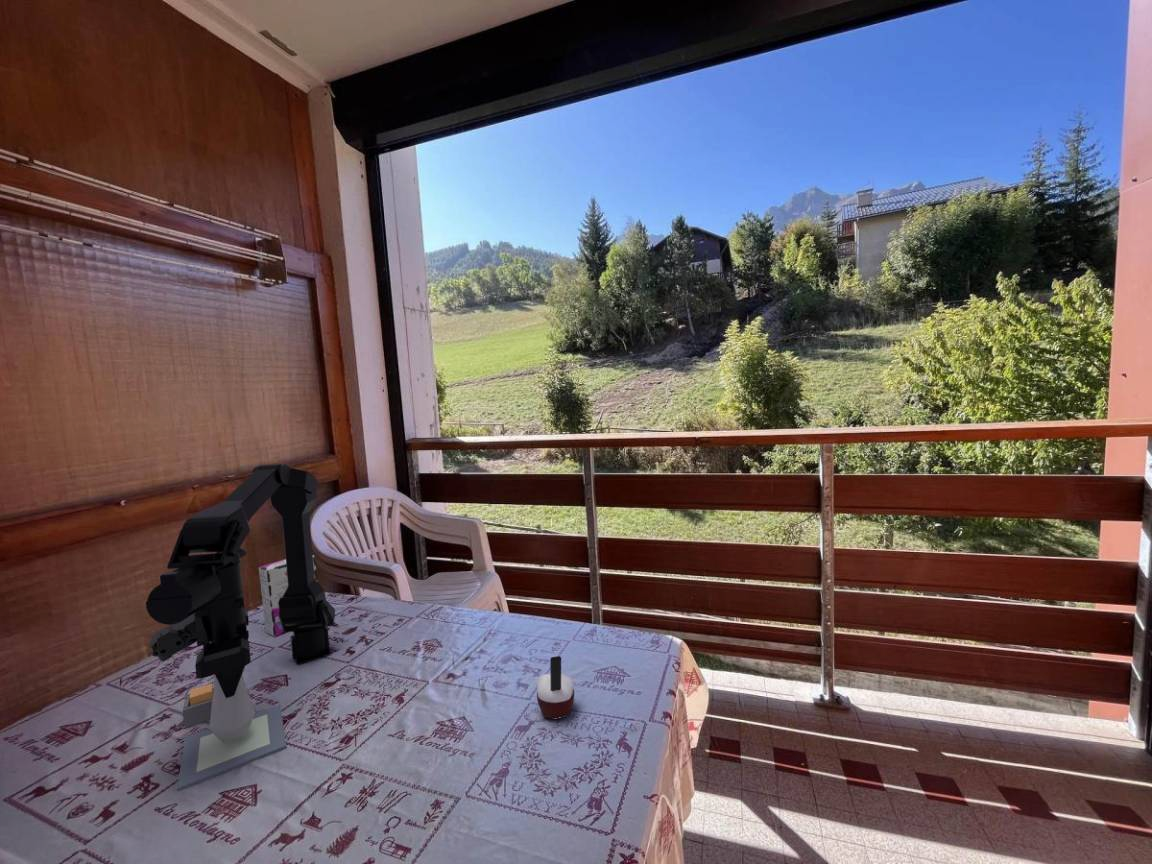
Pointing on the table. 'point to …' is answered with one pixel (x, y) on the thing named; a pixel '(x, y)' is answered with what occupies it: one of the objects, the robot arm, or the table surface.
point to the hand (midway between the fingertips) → (230, 690)
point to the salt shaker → (231, 712)
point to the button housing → (196, 712)
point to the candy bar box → (274, 593)
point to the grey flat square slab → (230, 748)
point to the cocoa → (555, 691)
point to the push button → (201, 694)
